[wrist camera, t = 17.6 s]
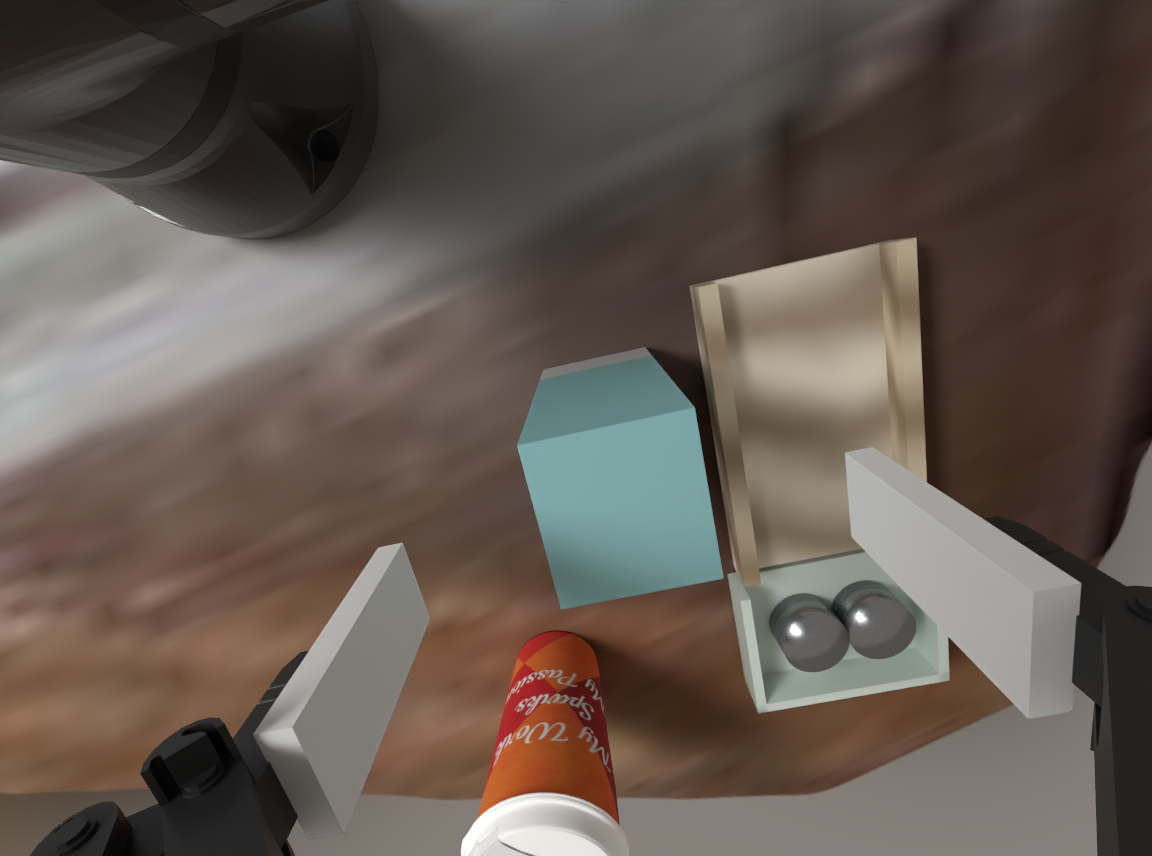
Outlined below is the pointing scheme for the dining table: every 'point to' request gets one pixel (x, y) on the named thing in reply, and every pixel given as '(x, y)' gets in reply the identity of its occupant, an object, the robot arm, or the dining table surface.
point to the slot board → (809, 393)
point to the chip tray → (854, 674)
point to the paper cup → (551, 761)
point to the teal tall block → (618, 480)
